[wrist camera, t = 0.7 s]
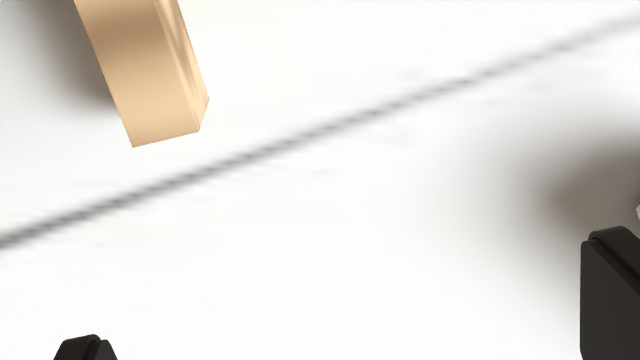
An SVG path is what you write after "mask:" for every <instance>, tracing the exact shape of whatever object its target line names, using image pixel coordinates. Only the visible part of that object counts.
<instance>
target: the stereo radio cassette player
mask: <svg viewBox="0 0 640 360" xmlns="http://www.w3.org/2000/svg"><path fill="white" fill-rule="evenodd" d="M636 212H637V215H638V218H639V220H640V204H639V205H638V207H637V208H636Z"/></svg>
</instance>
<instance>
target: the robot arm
mask: <svg viewBox="0 0 640 360" xmlns="http://www.w3.org/2000/svg"><path fill="white" fill-rule="evenodd" d="M580 351H581V355H582V358H583V360H640V239H638V238H637V237H636V236H635V235H634V234H633V233H632V232H630V231H629V230H628V229H627V228H625V227H624V226H618V227H613V228H608V229H603V230H598V231H593V232H592V233H590V235H589V238H588V240H587V241H584V242H582V244H581V275H580ZM54 360H117V357H116V355H115V353H114V351H113V349H112V347H111V344H110V343H109V341H107V340H100V338H99V337H98V336H97V335H95V334H92V335H87V336H82V337H77V338H72V339H67V340H65V341H63V342H62V344H61V345H60V347H59V349H58V351H57V354H56V356H55V358H54Z"/></svg>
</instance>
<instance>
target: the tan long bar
mask: <svg viewBox="0 0 640 360" xmlns="http://www.w3.org/2000/svg"><path fill="white" fill-rule="evenodd" d="M74 3H75V5H76V8H77V10H78V13H79V15H80V18H81V20H82V23H83V25H84V28H85V30H86V33H87V35H88V38H89V40H90V43H91V45H92V47H93V50H94V52H95V55H96V57H97V60H98V62H99V65H100V67H101V70H102V72H103V75H104V77H105V80H106V82H107V85H108V87H109V90H110V92H111V95H112V97H113V100H114V102H115V105H116V107H117V110H118V112H119V115H120V117H121V120H122V122H123V125H124V127H125V130H126V132H127V135H128V137H129V140H130V142H131V145H132V147H133V148H134V147H138V146H142V145H146V144H150V143H154V142H158V141H162V140H166V139H171V138H175V137H179V136H183V135H187V134H191V133H195V132H198V131H199V128H200V125H201V122H202V119H203V116H204V113H205V110H206V107H207V104H208V101H209V97H208V94H207V91H206V88H205V85H204V82H203V79H202V76H201V72H200V69H199V66H198V63H197V60H196V57H195V54H194V51H193V48H192V45H191V42H190V39H189V36H188V32H187V29H186V26H185V23H184V20H183V17H182V14H181V11H180V8H179V5H178V2H177V0H74Z"/></svg>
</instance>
